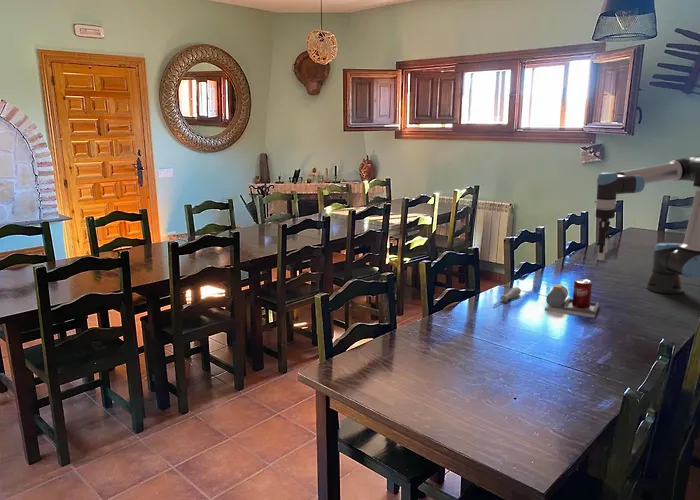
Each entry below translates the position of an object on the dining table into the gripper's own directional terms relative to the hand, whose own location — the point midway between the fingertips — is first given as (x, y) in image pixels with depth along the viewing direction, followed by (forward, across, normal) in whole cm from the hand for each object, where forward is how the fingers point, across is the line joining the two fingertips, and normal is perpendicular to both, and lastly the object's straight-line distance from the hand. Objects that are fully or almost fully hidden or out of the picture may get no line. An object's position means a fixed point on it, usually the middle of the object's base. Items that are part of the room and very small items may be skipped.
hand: (602, 255), depth 229 cm
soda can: (+21, +12, -6) cm, 25 cm away
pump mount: (+22, +12, -10) cm, 27 cm away
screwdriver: (+22, +15, -38) cm, 46 cm away
